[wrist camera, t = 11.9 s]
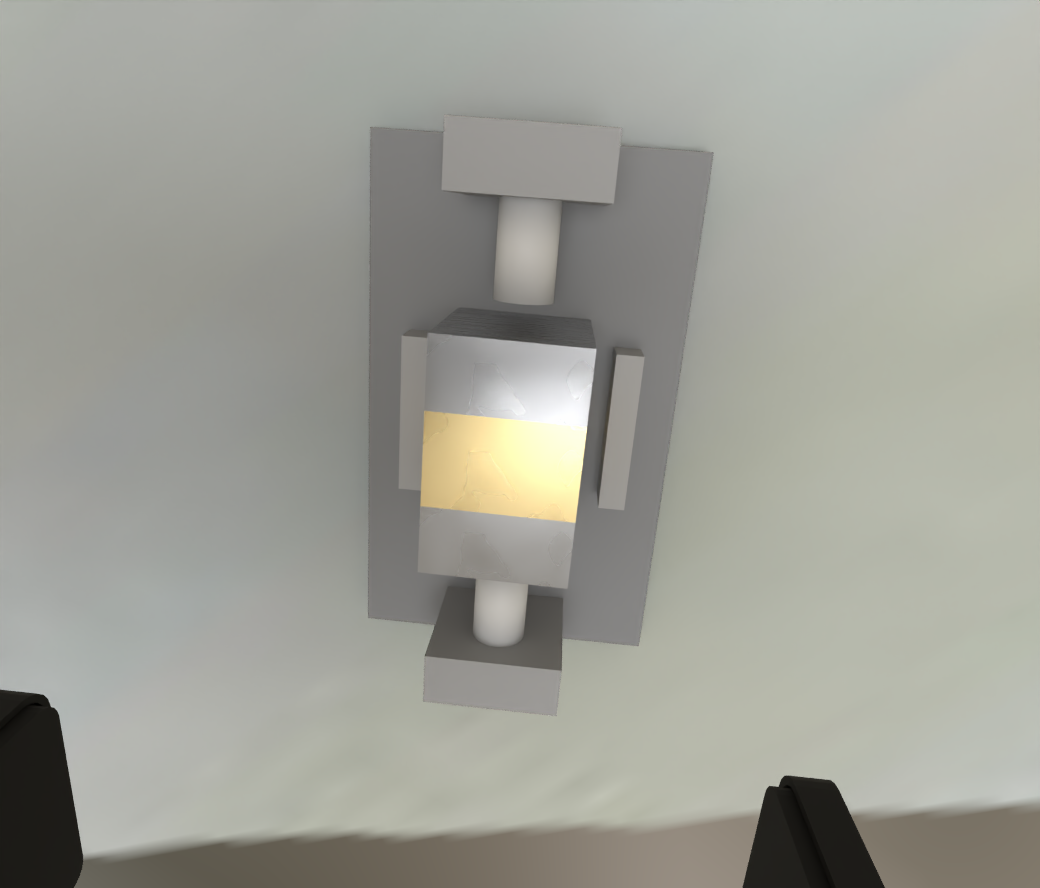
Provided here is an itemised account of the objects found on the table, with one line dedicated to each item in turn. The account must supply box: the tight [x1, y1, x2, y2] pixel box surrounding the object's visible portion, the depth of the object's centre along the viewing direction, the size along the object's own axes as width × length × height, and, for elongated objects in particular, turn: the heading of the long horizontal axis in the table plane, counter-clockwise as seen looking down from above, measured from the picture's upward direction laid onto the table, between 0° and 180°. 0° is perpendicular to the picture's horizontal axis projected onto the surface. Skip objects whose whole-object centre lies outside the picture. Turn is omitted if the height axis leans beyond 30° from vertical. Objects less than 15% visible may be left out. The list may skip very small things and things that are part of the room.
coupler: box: [418, 307, 597, 589], centre depth 24 cm, size 8×5×6 cm, turn 175°
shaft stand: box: [368, 115, 714, 716], centre depth 25 cm, size 20×12×6 cm, turn 176°
